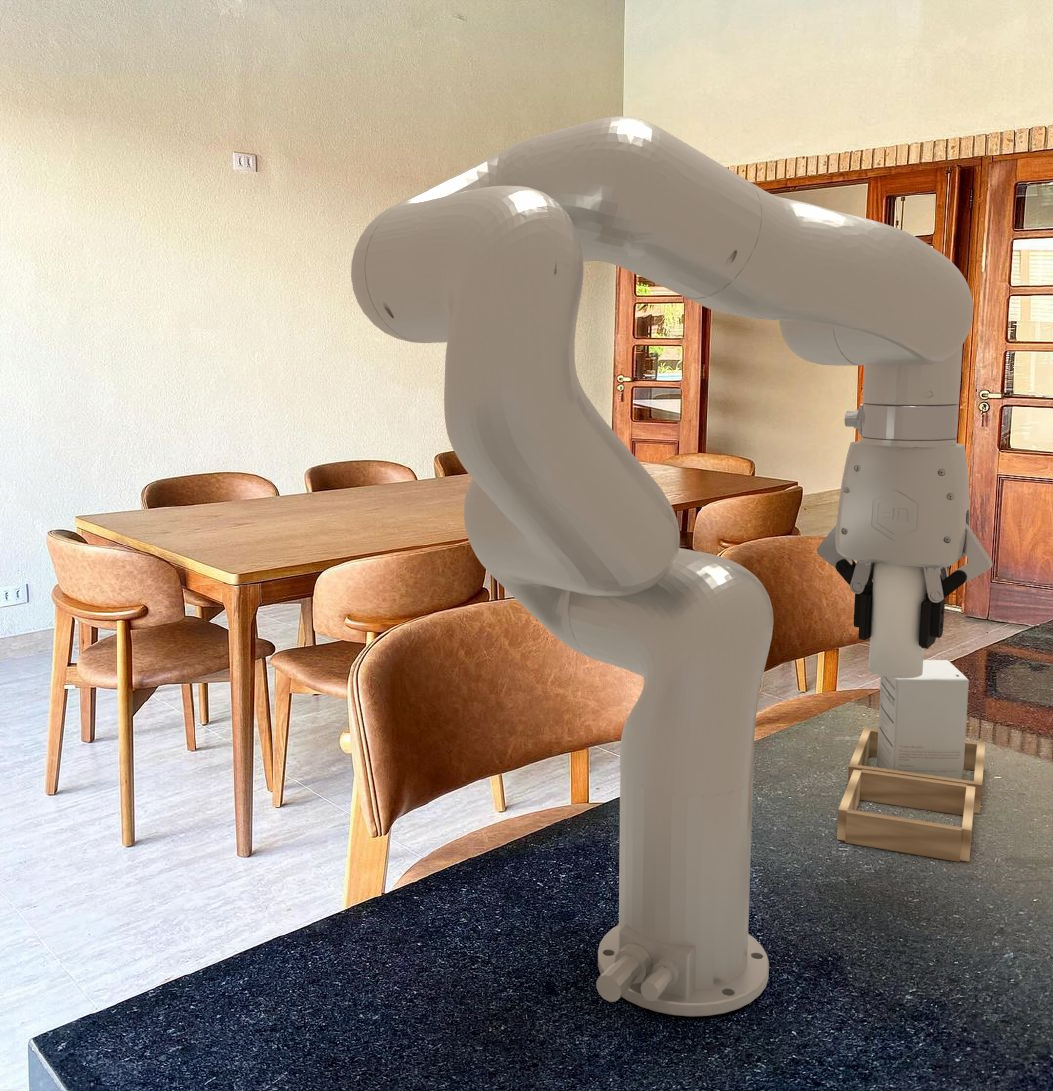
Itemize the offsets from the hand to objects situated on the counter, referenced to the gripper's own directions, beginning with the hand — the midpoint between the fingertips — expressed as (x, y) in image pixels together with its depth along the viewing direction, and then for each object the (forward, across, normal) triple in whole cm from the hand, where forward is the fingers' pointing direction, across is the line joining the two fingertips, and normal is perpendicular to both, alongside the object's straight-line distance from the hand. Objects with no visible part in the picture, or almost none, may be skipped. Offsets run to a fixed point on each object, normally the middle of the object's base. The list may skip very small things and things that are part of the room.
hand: (897, 638), depth 93 cm
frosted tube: (+3, 0, 0) cm, 3 cm away
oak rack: (+21, -2, +16) cm, 26 cm away
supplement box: (+21, -2, +22) cm, 31 cm away
